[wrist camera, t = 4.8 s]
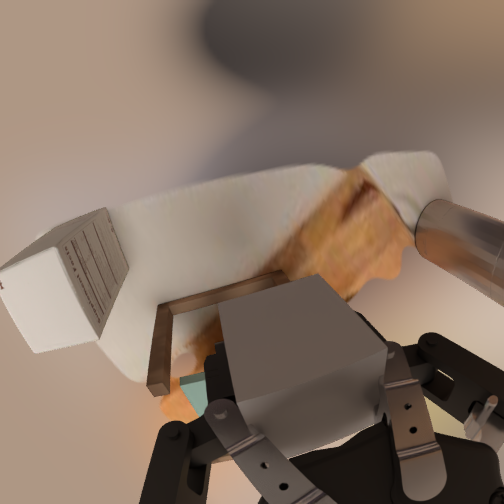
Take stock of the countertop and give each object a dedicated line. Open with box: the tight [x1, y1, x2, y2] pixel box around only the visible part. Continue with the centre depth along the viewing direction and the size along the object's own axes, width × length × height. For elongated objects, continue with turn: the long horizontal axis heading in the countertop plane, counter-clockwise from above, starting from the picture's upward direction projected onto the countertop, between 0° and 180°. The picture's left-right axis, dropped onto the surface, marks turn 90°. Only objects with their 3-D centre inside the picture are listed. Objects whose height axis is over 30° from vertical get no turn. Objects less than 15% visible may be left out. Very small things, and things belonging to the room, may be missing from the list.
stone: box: [217, 274, 388, 458], centre depth 11 cm, size 5×5×6 cm
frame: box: [146, 270, 290, 464], centre depth 28 cm, size 14×15×12 cm
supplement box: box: [0, 208, 129, 354], centre depth 20 cm, size 7×7×13 cm
